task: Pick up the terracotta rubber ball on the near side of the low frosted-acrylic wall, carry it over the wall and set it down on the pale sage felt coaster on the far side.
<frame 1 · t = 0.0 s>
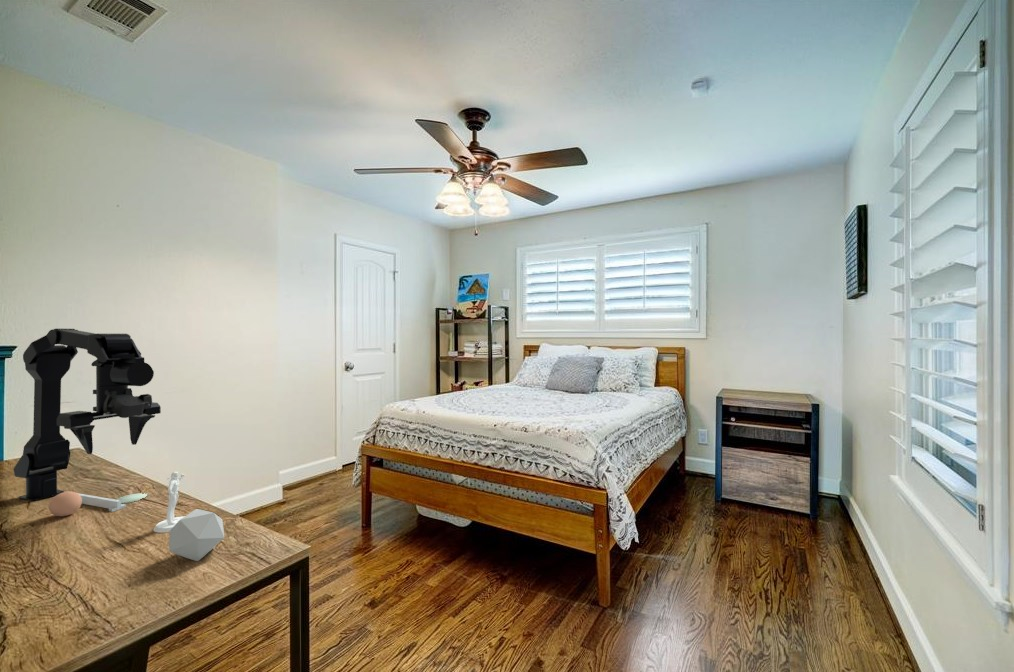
hand: (112, 449, 107), 15 cm above the table, fingers open, 9 cm apart
ball: (65, 515, 103), on the table
figurine: (173, 526, 98), on the table
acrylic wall: (97, 505, 109), on the table
die: (197, 556, 84), on the table
felt coaster: (131, 498, 114), on the table
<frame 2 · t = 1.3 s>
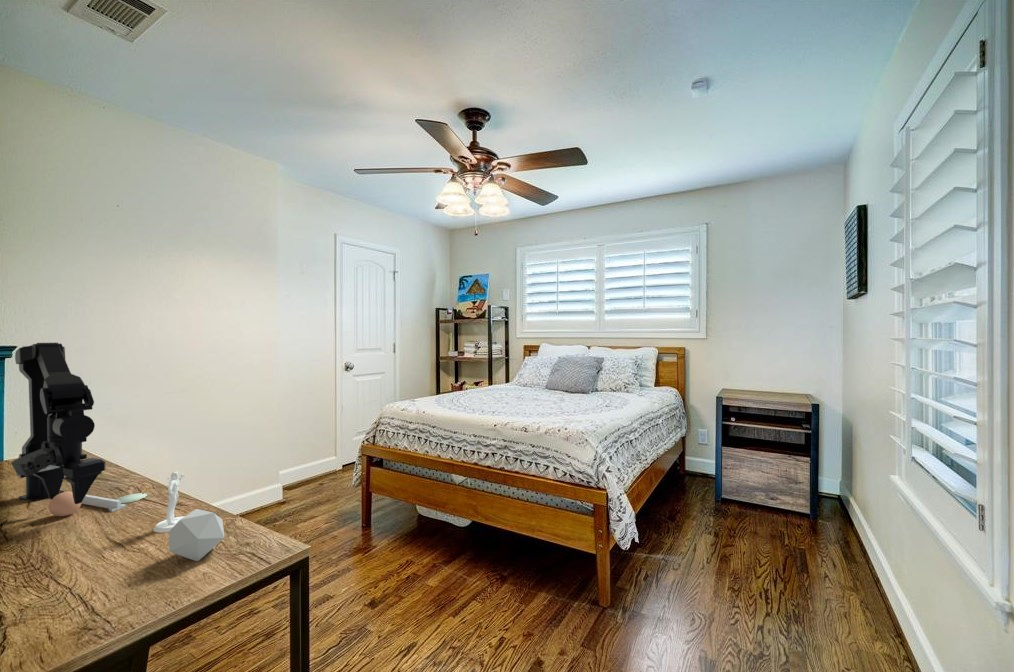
hand: (65, 501, 103), 3 cm above the table, fingers open, 9 cm apart
nothing on the table moved.
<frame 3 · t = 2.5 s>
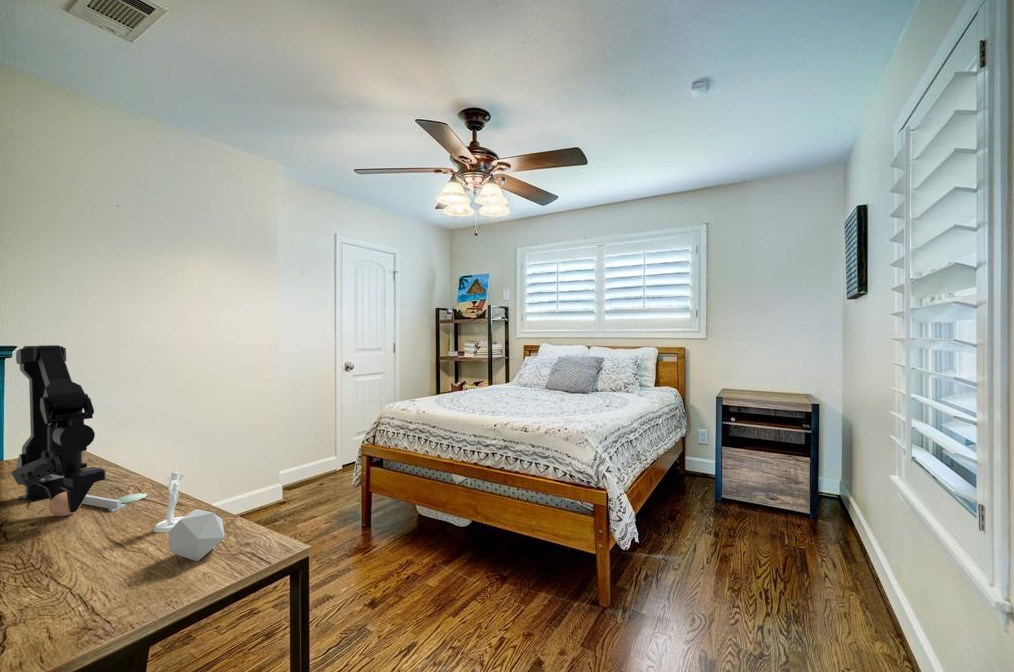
hand: (65, 510, 103), 1 cm above the table, fingers closed on ball, 5 cm apart
ball: (65, 515, 103), on the table, touching gripper
everything else where it was.
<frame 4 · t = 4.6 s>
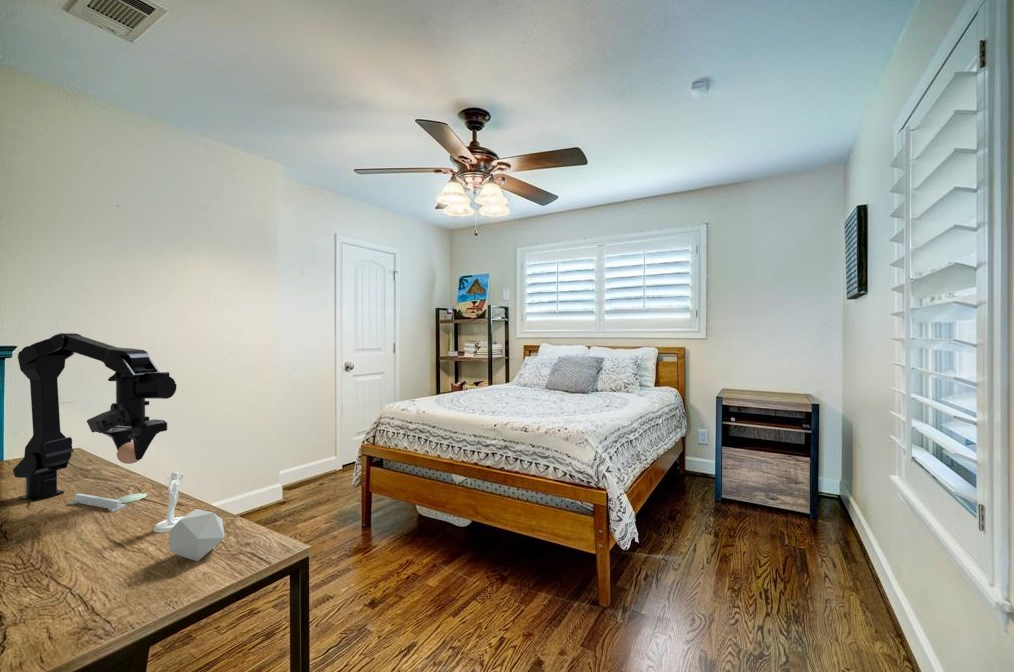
hand: (131, 458, 114), 10 cm above the table, fingers closed on ball, 5 cm apart
ball: (131, 463, 114), point 9 cm above the table, touching gripper
everything else where it was.
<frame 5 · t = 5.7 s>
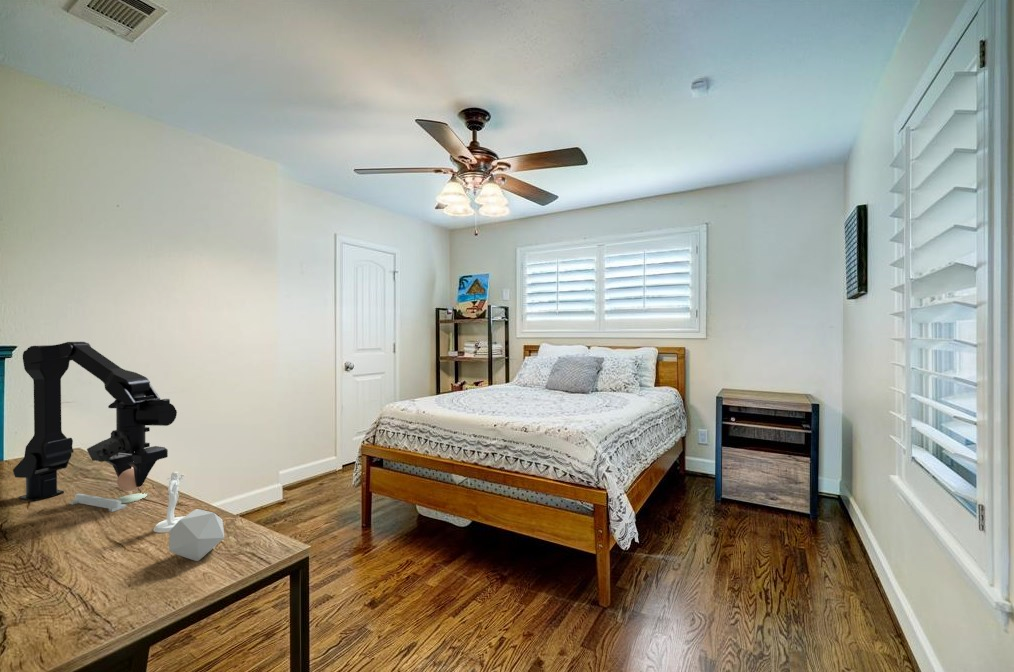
hand: (131, 485, 114), 3 cm above the table, fingers closed on ball, 5 cm apart
ball: (131, 490, 114), point 2 cm above the table, touching gripper
everything else where it was.
when the fingers open (3 cm above the table, at t = 6.7 s): ball drops 1 cm, resting on felt coaster.
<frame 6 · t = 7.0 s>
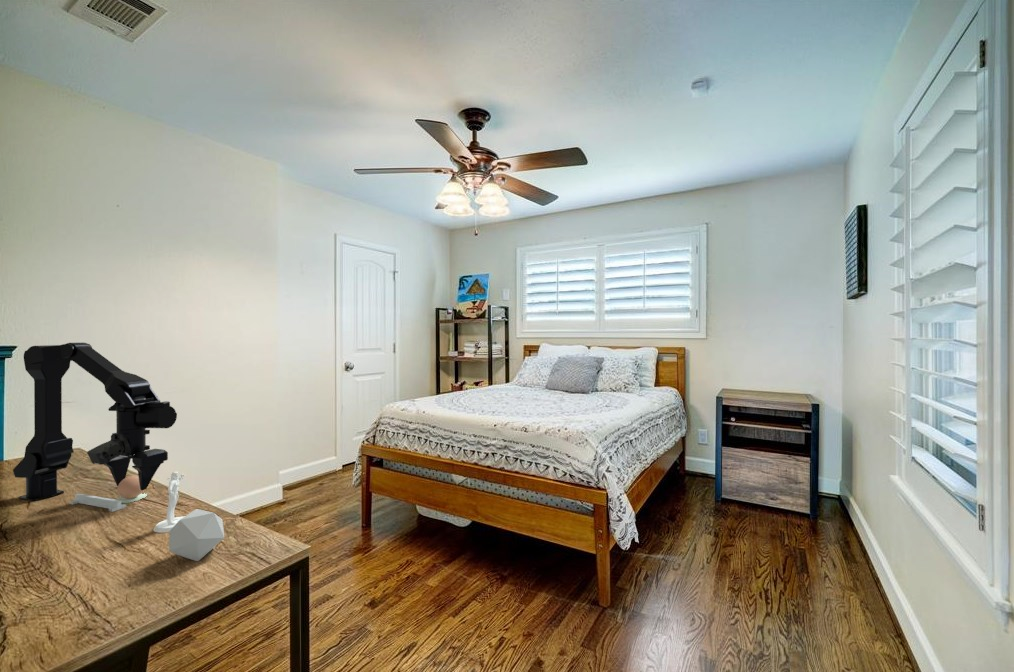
hand: (131, 488, 114), 3 cm above the table, fingers open, 9 cm apart
ball: (131, 497, 114), resting on felt coaster
everything else where it was.
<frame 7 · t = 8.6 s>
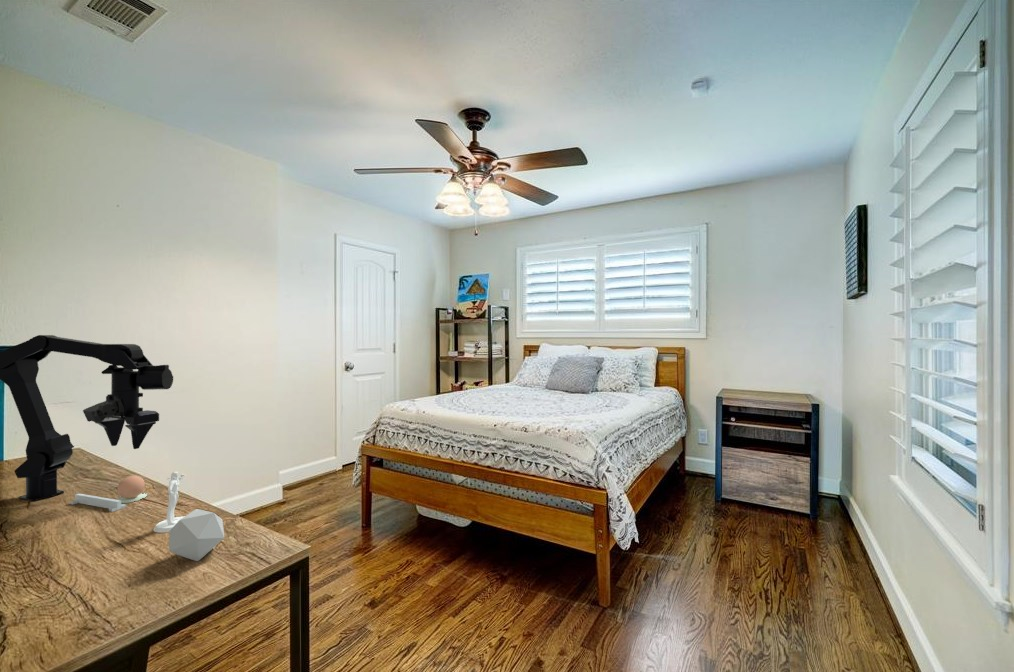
hand: (125, 447, 120), 12 cm above the table, fingers open, 9 cm apart
nothing on the table moved.
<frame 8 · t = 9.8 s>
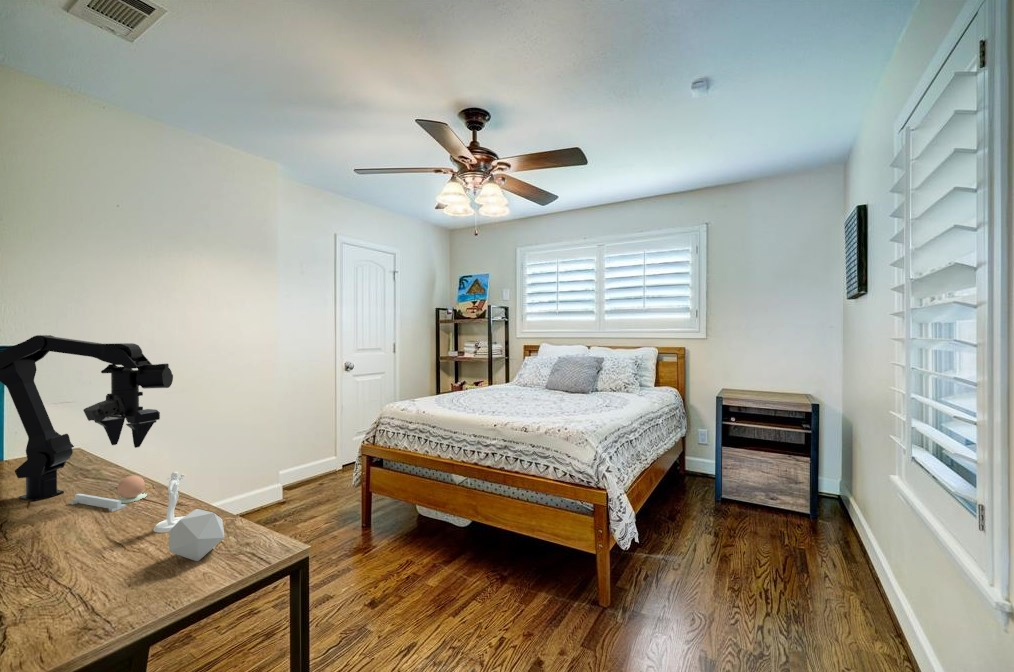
hand: (125, 446, 120), 12 cm above the table, fingers open, 9 cm apart
nothing on the table moved.
at the end: ball 0.0 cm off-centre on the felt coaster, point 0.3 cm above the felt coaster's base; the gripper is holding nothing; ball inside the target area (2.9 cm from its centre), resting on felt coaster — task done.
